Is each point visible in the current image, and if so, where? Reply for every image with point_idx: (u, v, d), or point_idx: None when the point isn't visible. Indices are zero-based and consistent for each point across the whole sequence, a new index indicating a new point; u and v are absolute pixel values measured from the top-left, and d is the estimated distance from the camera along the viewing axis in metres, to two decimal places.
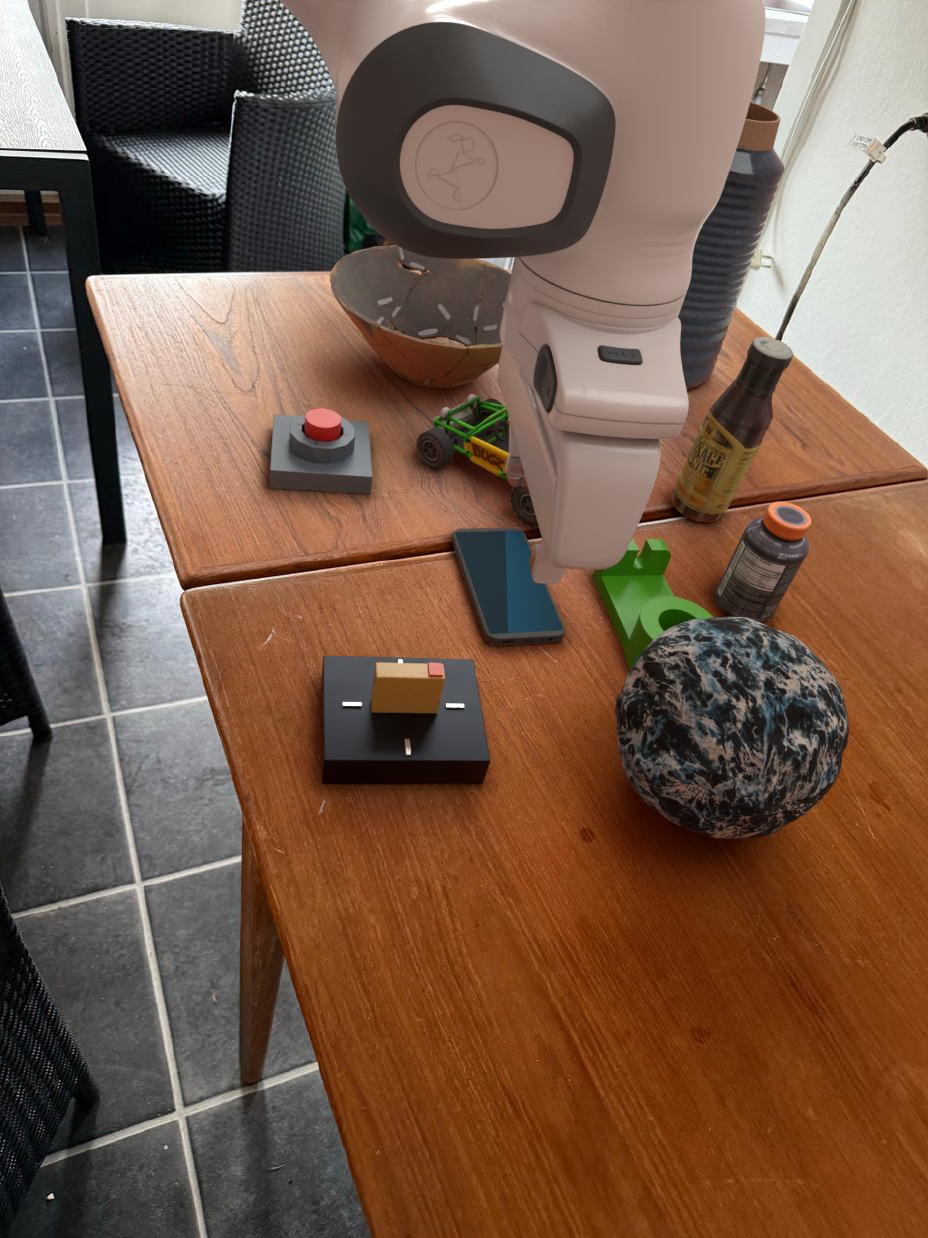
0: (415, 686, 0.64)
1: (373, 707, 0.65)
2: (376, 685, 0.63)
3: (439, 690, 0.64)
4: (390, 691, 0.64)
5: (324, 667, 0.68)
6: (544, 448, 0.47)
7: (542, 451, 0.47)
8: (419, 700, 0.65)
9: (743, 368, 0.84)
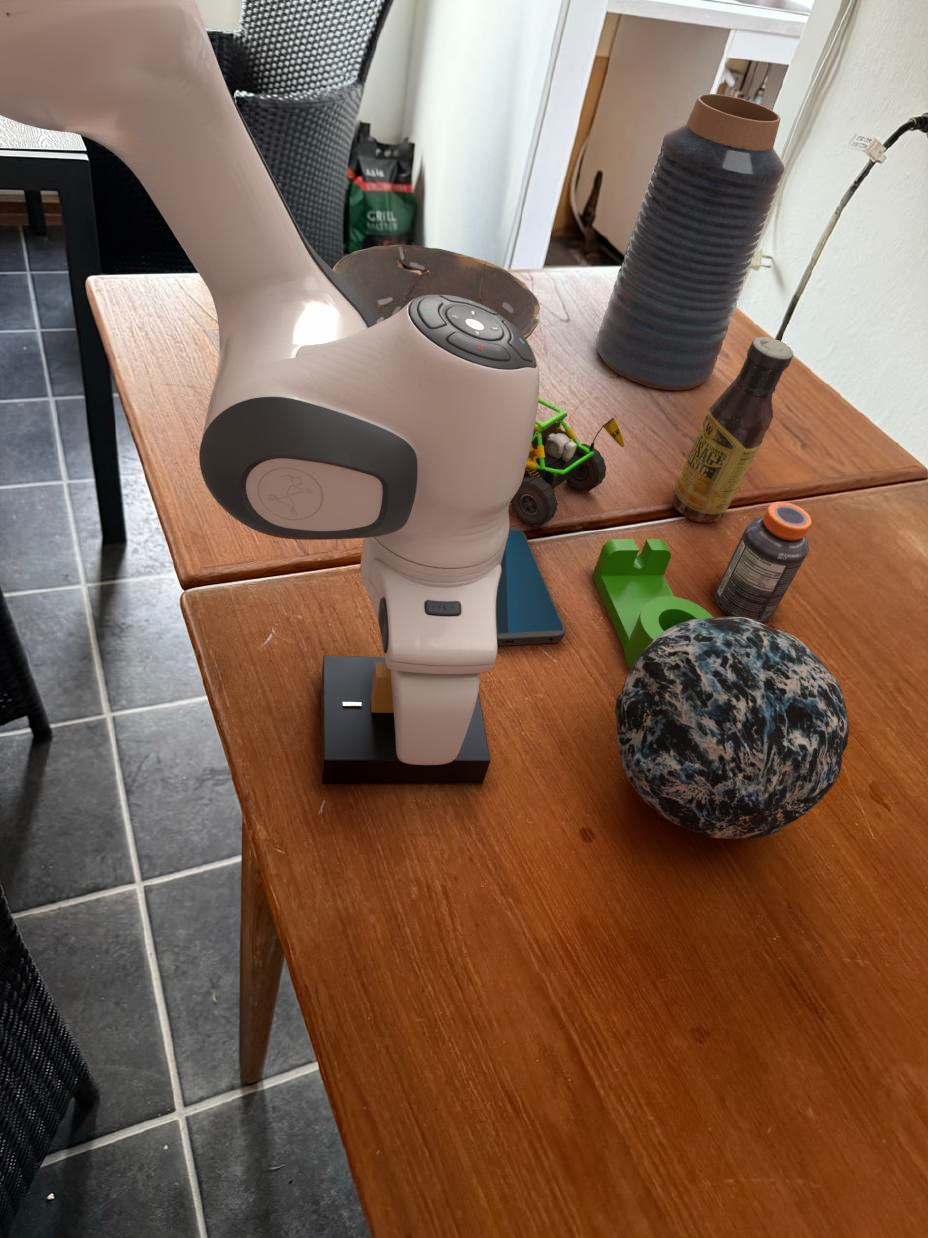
0: None
1: (373, 707, 0.65)
2: (376, 685, 0.63)
3: None
4: (390, 691, 0.64)
5: (324, 667, 0.68)
6: None
7: None
8: None
9: (743, 368, 0.84)
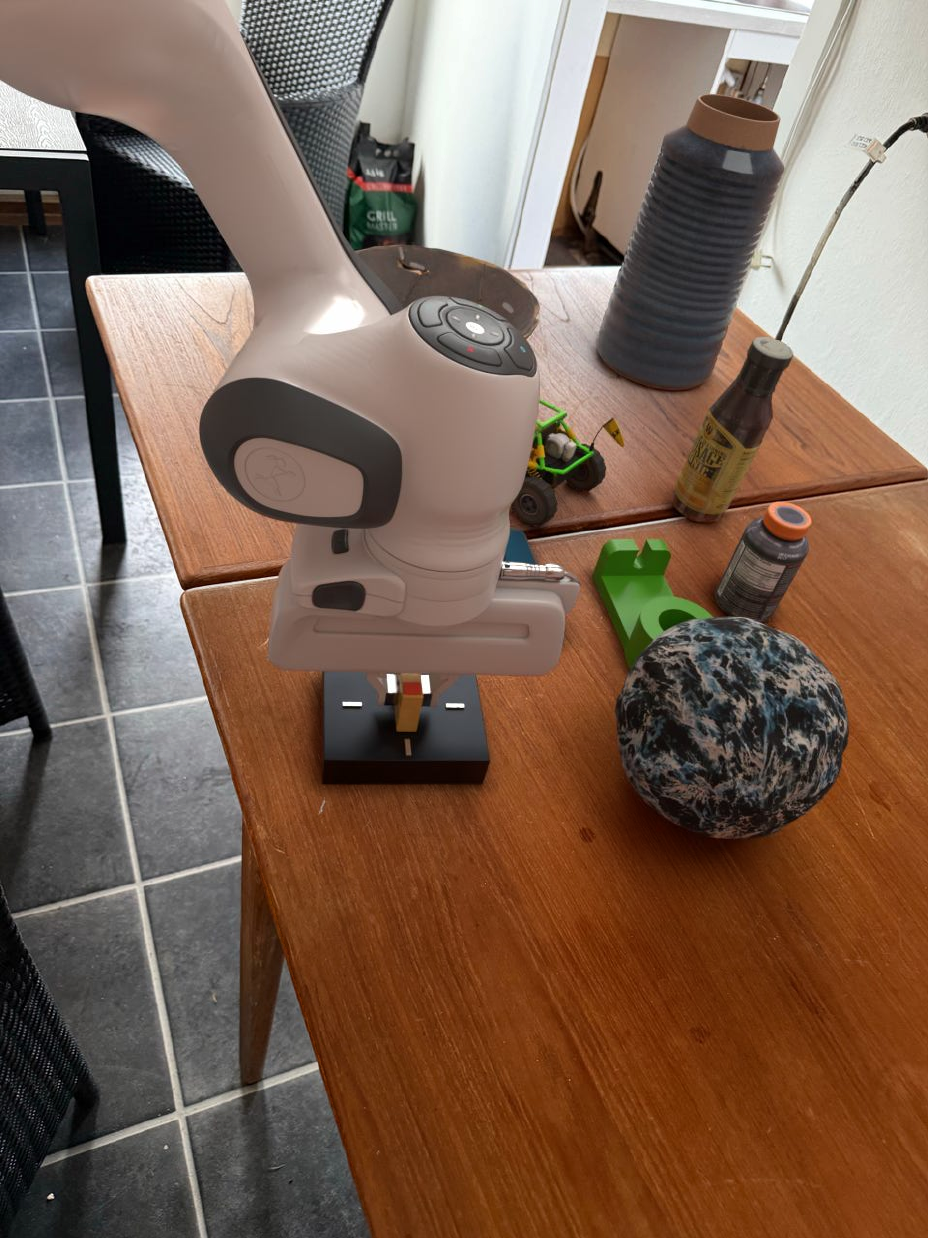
0: (399, 682, 0.64)
1: None
2: None
3: (400, 705, 0.63)
4: None
5: None
6: None
7: None
8: (397, 701, 0.64)
9: (743, 368, 0.84)
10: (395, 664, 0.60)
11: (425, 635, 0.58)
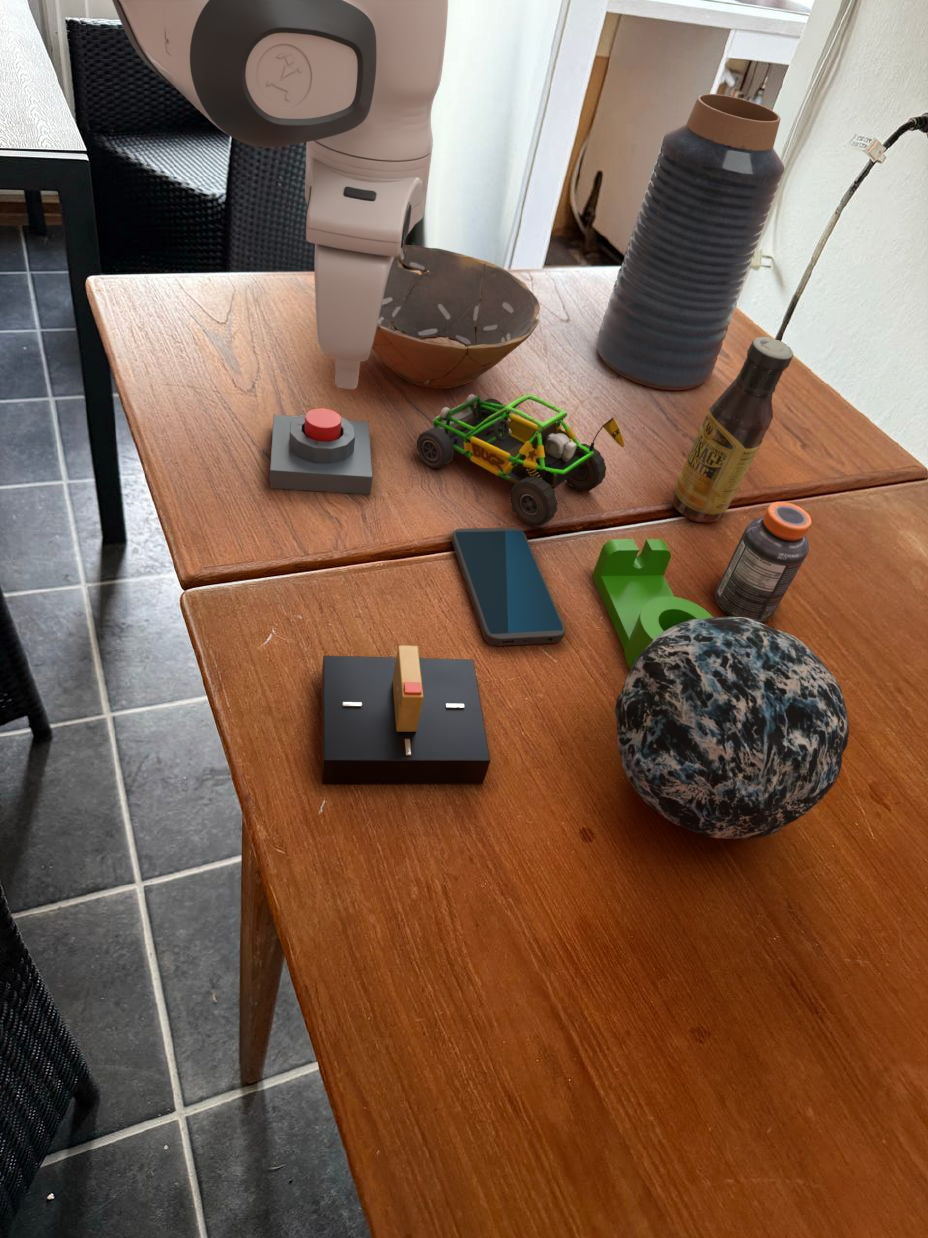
0: (399, 682, 0.64)
1: (393, 676, 0.67)
2: (397, 653, 0.66)
3: (400, 705, 0.63)
4: (396, 670, 0.65)
5: (324, 667, 0.68)
6: None
7: None
8: (397, 701, 0.64)
9: (743, 368, 0.84)
10: None
11: None
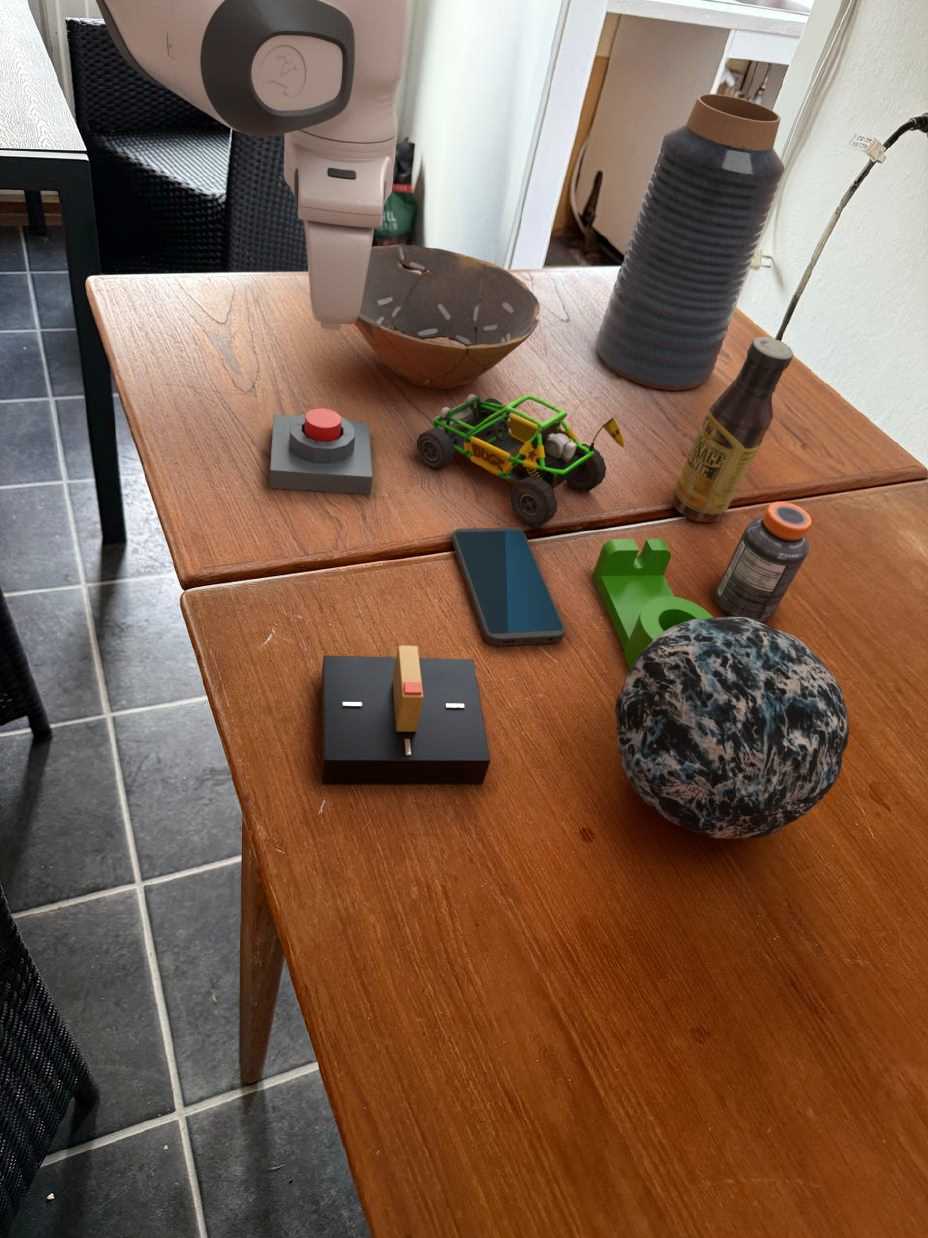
0: (399, 682, 0.64)
1: (393, 676, 0.67)
2: (397, 653, 0.66)
3: (400, 705, 0.63)
4: (396, 670, 0.65)
5: (324, 667, 0.68)
6: None
7: None
8: (397, 701, 0.64)
9: (743, 368, 0.84)
10: None
11: None
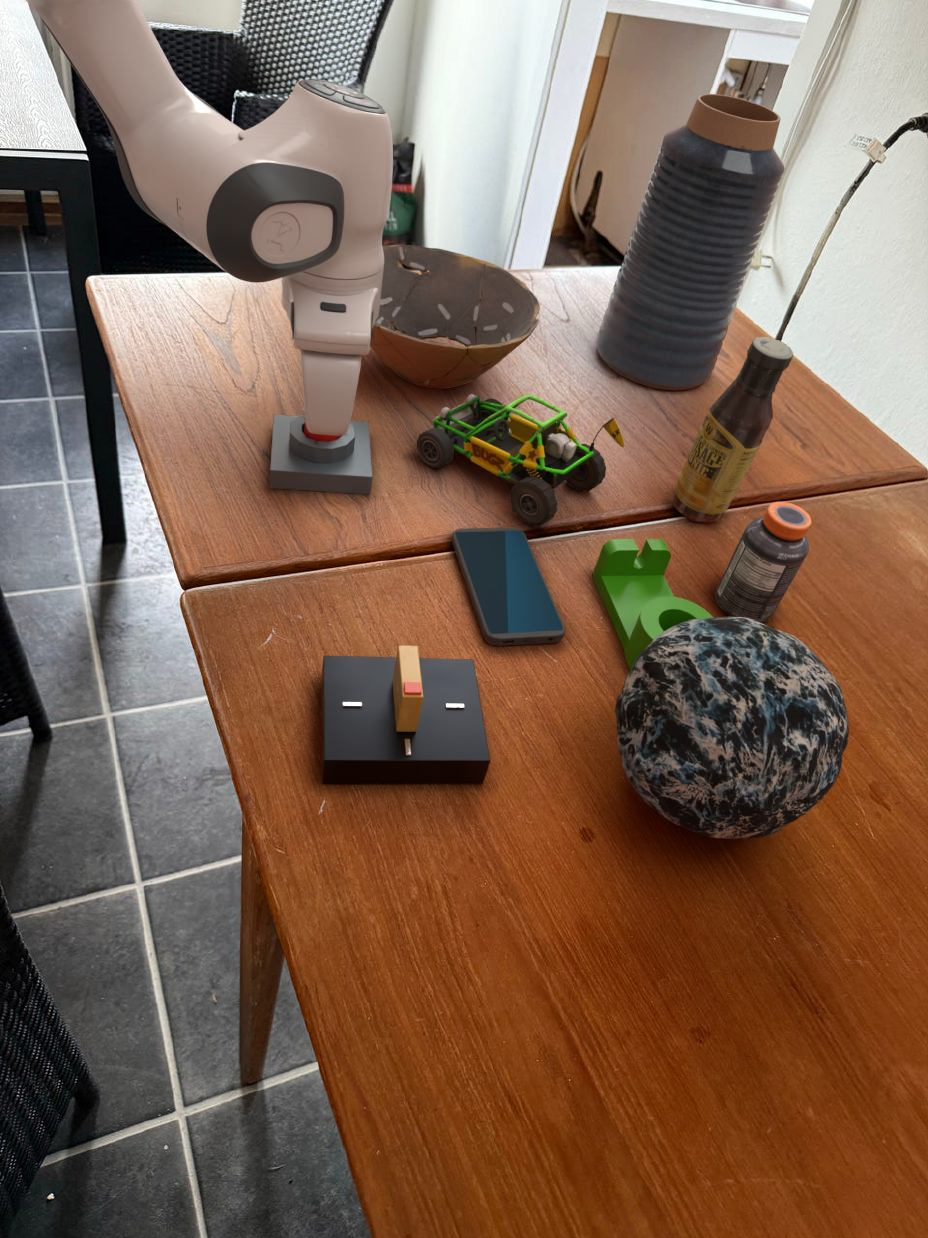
0: (399, 682, 0.64)
1: (393, 676, 0.67)
2: (397, 653, 0.66)
3: (400, 705, 0.63)
4: (396, 670, 0.65)
5: (324, 667, 0.68)
6: None
7: None
8: (397, 701, 0.64)
9: (743, 368, 0.84)
10: None
11: None
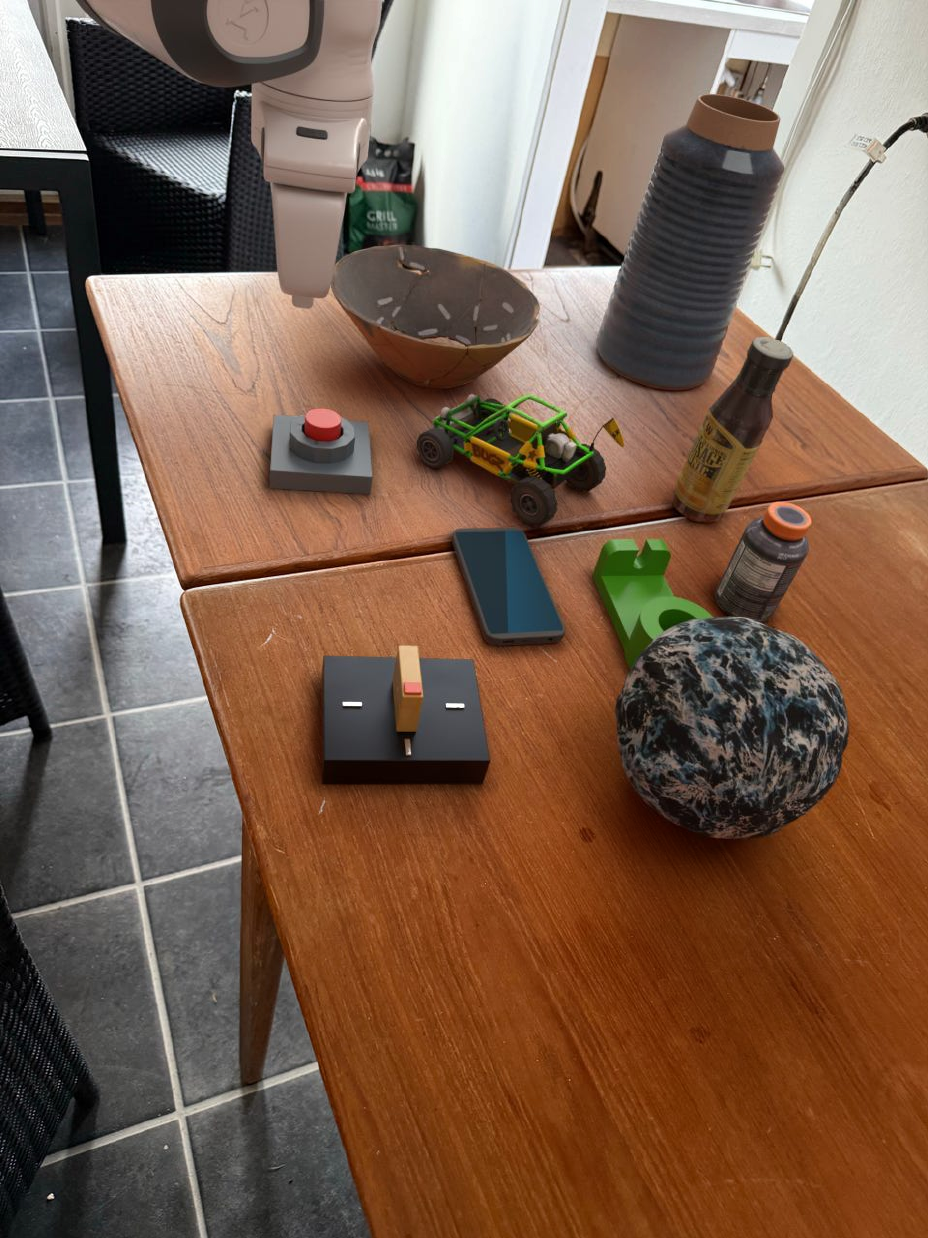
0: (399, 682, 0.64)
1: (393, 676, 0.67)
2: (397, 653, 0.66)
3: (400, 705, 0.63)
4: (396, 670, 0.65)
5: (324, 667, 0.68)
6: None
7: None
8: (397, 701, 0.64)
9: (743, 368, 0.84)
10: None
11: None
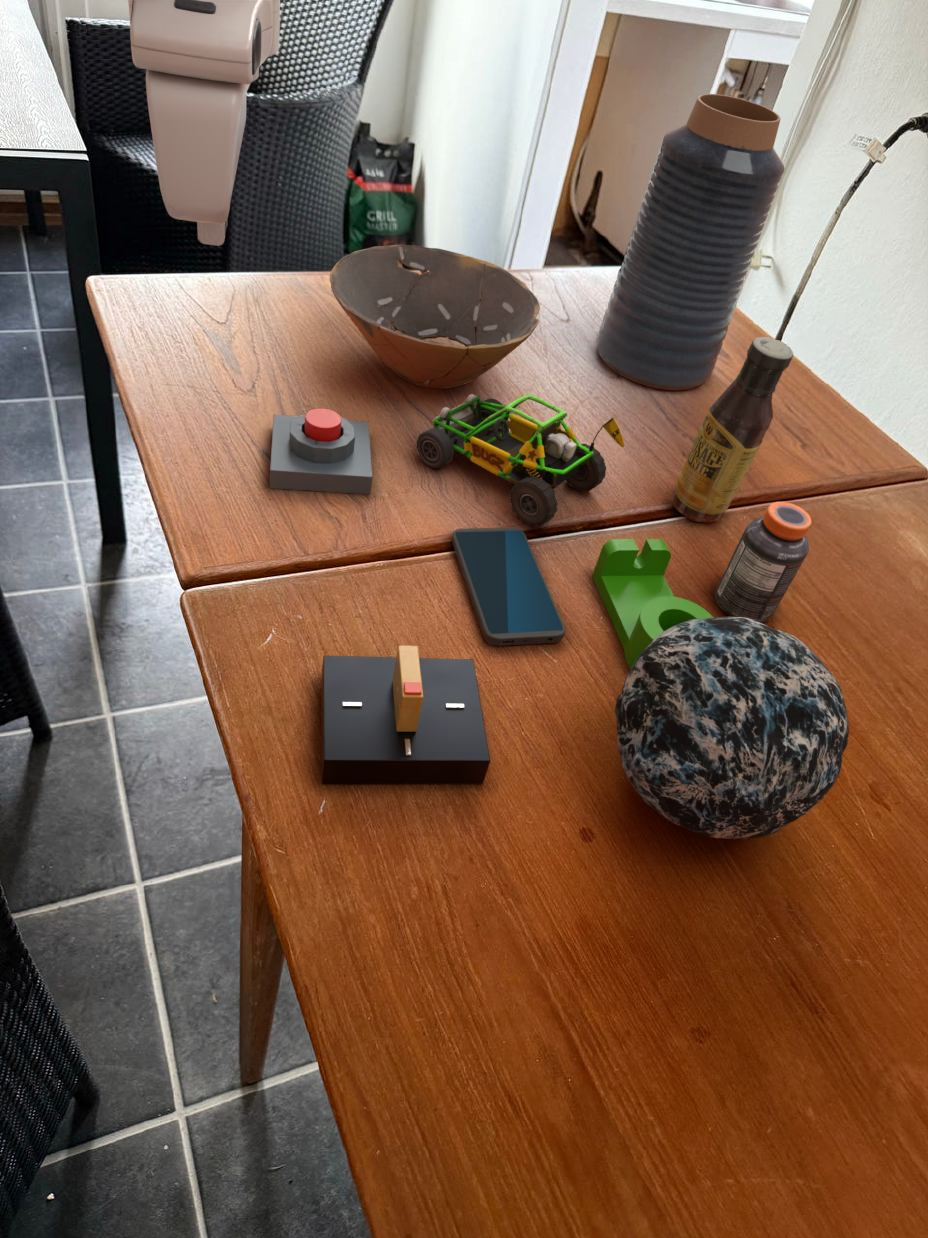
0: (399, 682, 0.64)
1: (393, 676, 0.67)
2: (397, 653, 0.66)
3: (400, 705, 0.63)
4: (396, 670, 0.65)
5: (324, 667, 0.68)
6: None
7: None
8: (397, 701, 0.64)
9: (743, 368, 0.84)
10: (236, 160, 0.58)
11: None
